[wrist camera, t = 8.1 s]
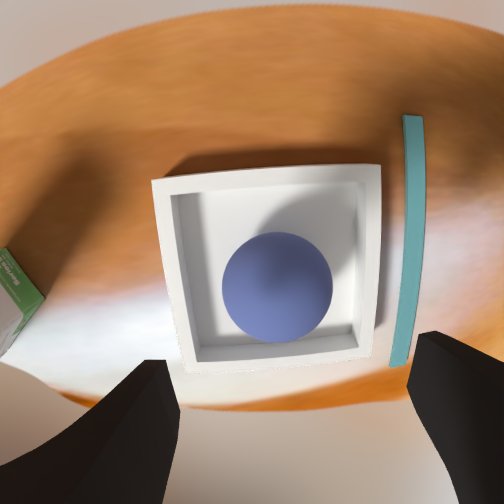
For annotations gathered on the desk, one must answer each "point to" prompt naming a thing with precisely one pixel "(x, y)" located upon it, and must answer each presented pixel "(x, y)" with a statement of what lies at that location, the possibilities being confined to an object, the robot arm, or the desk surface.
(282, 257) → the ball
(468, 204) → the desk surface
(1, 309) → the ink box
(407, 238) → the teal line
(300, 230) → the tray
